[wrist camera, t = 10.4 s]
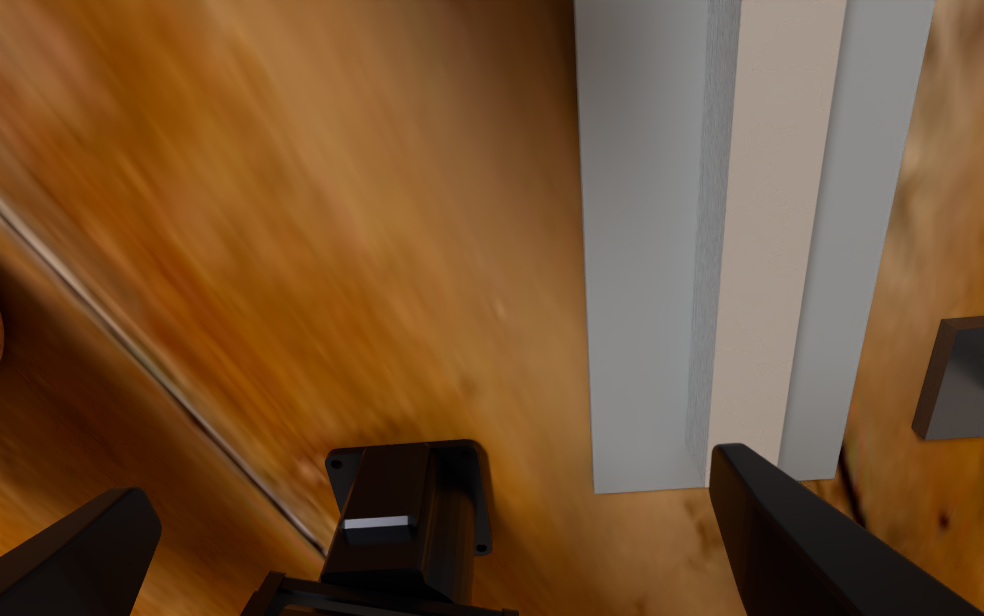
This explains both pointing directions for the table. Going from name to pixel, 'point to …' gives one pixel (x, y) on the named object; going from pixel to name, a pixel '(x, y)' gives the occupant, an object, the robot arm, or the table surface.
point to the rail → (755, 213)
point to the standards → (954, 383)
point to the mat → (673, 219)
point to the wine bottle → (1, 336)
